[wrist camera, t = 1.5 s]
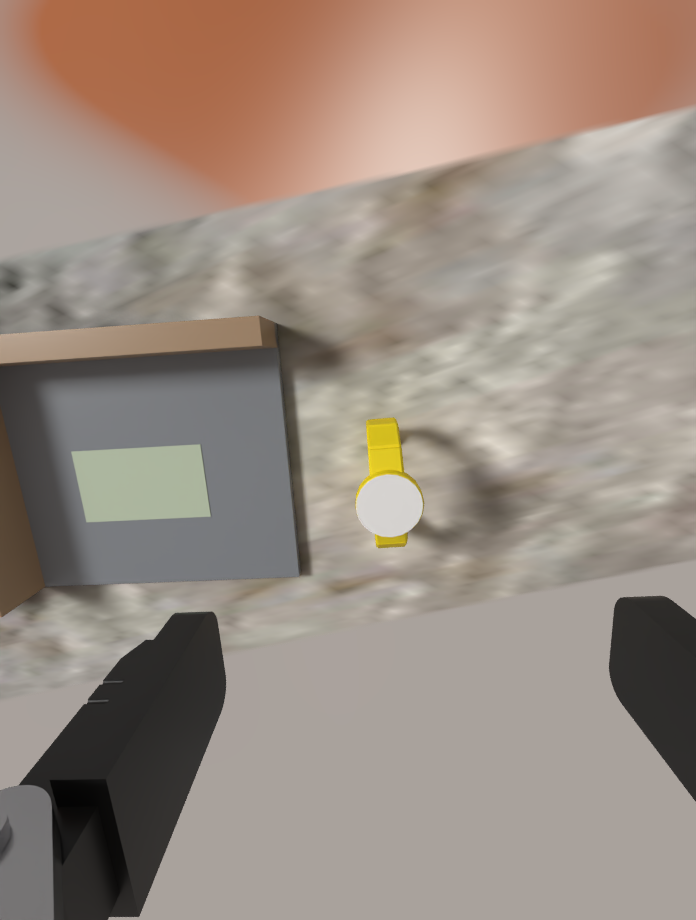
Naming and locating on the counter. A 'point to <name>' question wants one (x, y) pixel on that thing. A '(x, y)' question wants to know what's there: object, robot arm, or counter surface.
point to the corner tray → (143, 456)
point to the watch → (388, 488)
